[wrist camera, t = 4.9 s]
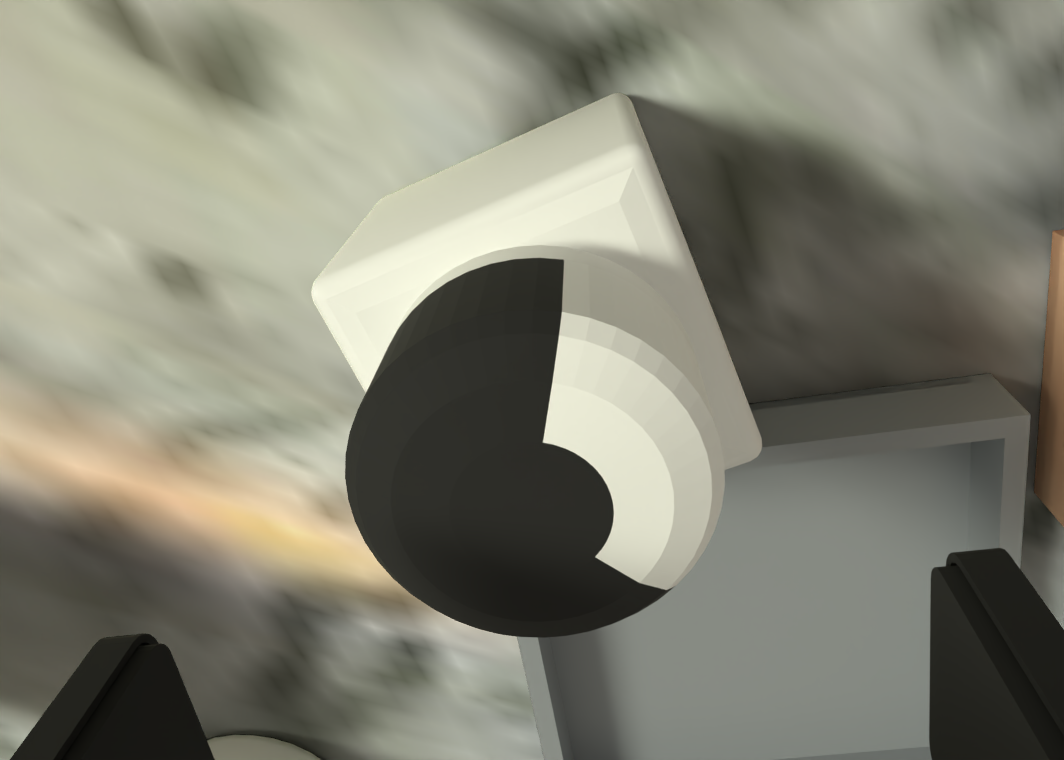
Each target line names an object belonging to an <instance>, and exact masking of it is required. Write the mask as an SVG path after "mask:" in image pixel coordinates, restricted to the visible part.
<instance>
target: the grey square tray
mask: <svg viewBox="0 0 1064 760" xmlns="http://www.w3.org/2000/svg"><path fill="white" fill-rule="evenodd" d="M749 406H750V409H751V412H752V414H753V417H754V420H755V422H756V425H757V428H758V430H759V433H760V435H761V438H762V449H761V452H760V453H759V455H758V457H756V458H755V459H753V460H752V461H750V462H747V463H744V464H741V465H738V466H735V467H732V468H729V469H726V470H725V488H724V495H723V502H722V509H721V512H720V515H719V518H718V521H717V525H716V528H715V531H714V533H713V535H712V537H711V539H710V541H709V543H708V545H707V547H706V549H705V551H704V552H703V554H702V555H701V556H700V558H699V559H698V561H697V562H696V564H695V565H694V566H693V568H692V569H691V570H690V571H689V572H688V573H687V575H686V576H685V577H684V578H683V579H682V580H681V581H680V582H679V583H678V584H677V585H676V586H675V587H674V588H673V589H671V590H670V591H669V592H668V593H666V594H665V595H664V596H663V597H661V598H660V599H659V600H658V601H656V602H654V603H653V604H651V605H650V606H648V607H646V608H645V609H643V610H641V611H640V612H638V613H636V614H634V615H632V616H629V617H627V618H625V619H623V620H621V621H618V622H616V623H614V624H611V625H608V626H605V627H602V628H599V629H596V630H592V631H589V632H584V633H579V634H574V635H569V636H559V637H547V638H538V637H518V636H517V639H518V643H519V648H520V652H521V657H522V661H523V666H524V670H525V675H526V680H527V684H528V689H529V693H530V698H531V702H532V707H533V711H534V716H535V720H536V725H537V729H538V734H539V738H540V743H541V747H542V752H543V756H544V760H932V758H931V753H930V746H929V702H930V596H931V572H932V569H933V568H934V567H943V566H946V560H947V557H948V555H949V554H950V553H953V552H963V551H973V550H983V549H993V548H1002V549H1005V550H1006V551H1007V552H1008V553H1009V554H1010V556H1011V557H1012V559H1013V560H1014V561H1015V563H1016V564H1017V566H1018V567H1019V568H1020V567H1021V552H1022V537H1023V522H1024V508H1025V493H1026V478H1027V463H1028V448H1029V434H1030V419H1031V414H1030V413H1029V412H1028V411H1027V410H1026V409H1025V408H1024V407H1023V406H1022V405H1021V404H1020V403H1019V402H1018V401H1017V400H1016V399H1015V398H1014V397H1013V396H1012V395H1011V394H1010V393H1009V392H1008V391H1007V390H1006V389H1005V388H1004V387H1003V386H1002V385H1001V384H1000V383H999V382H998V381H997V380H996V379H995V378H994V377H993V376H992V375H991V374H982V375H974V376H966V377H959V378H951V379H943V380H935V381H927V382H919V383H912V384H904V385H896V386H888V387H880V388H872V389H864V390H857V391H849V392H841V393H833V394H825V395H817V396H809V397H802V398H794V399H786V400H778V401H770V402H762V403H755V404H749Z"/></svg>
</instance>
